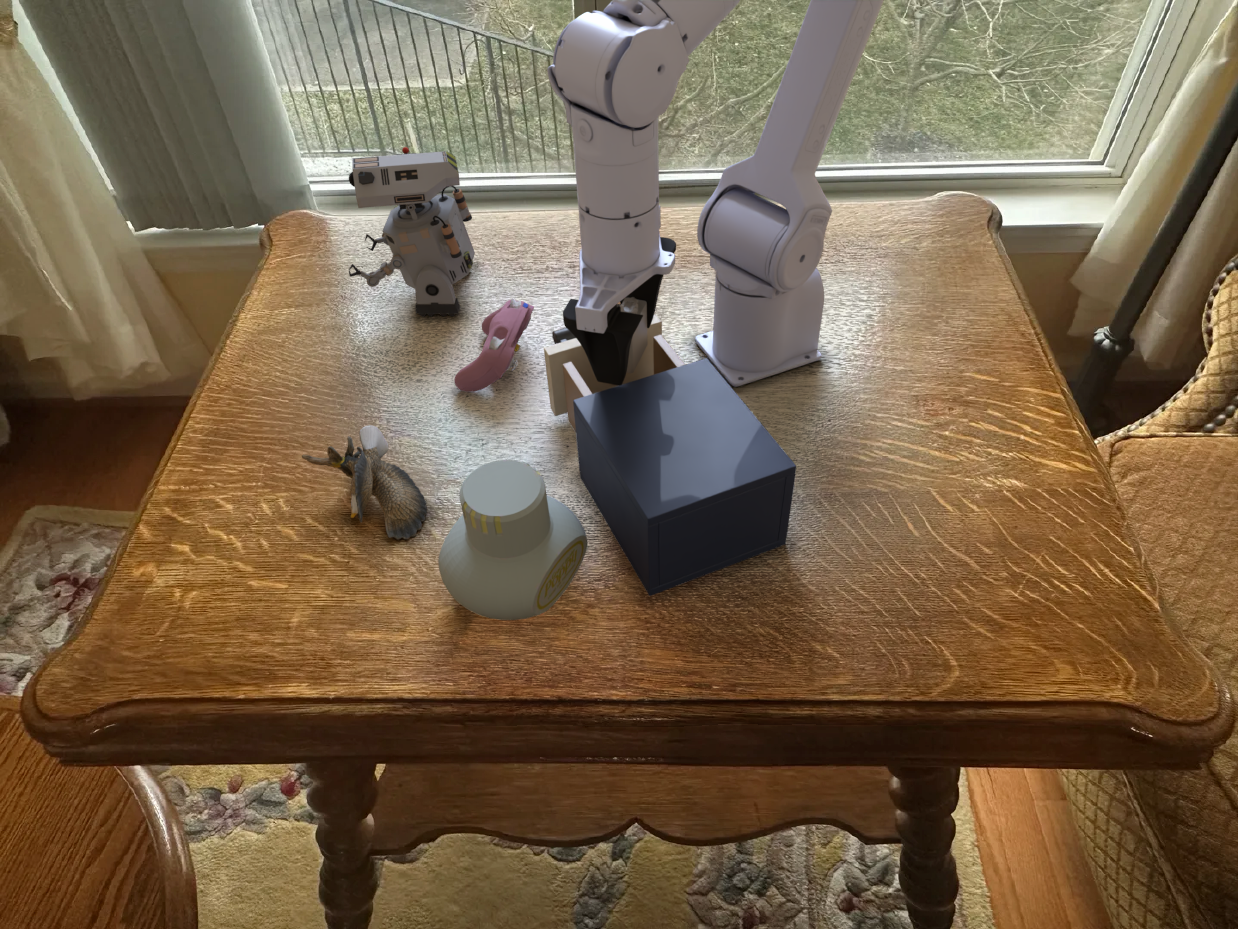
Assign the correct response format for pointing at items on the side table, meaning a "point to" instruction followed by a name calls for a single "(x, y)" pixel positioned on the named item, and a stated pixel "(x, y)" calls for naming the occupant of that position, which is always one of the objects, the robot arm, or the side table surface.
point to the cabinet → (683, 474)
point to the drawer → (577, 378)
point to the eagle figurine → (378, 483)
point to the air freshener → (510, 544)
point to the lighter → (640, 334)
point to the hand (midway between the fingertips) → (624, 351)
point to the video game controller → (496, 346)
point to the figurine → (418, 224)
